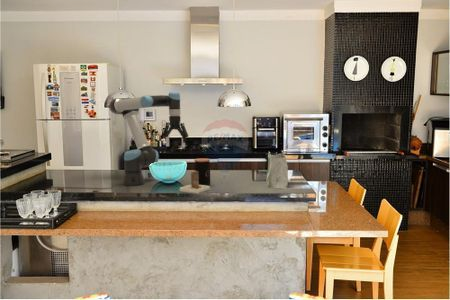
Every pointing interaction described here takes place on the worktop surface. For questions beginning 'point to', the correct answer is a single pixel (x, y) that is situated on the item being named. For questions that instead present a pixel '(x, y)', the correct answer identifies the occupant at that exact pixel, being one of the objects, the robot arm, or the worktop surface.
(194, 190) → the candle dish
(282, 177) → the grocery bag
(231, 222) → the worktop surface
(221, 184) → the worktop surface
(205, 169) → the coffee jar
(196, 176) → the wooden wedge
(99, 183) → the worktop surface
